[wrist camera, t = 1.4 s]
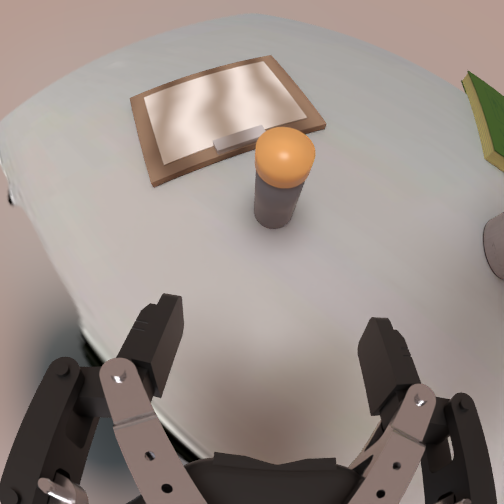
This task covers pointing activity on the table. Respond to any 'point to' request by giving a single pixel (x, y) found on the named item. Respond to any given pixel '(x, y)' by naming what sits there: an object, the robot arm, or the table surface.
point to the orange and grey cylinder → (280, 174)
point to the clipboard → (217, 115)
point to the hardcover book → (487, 117)
